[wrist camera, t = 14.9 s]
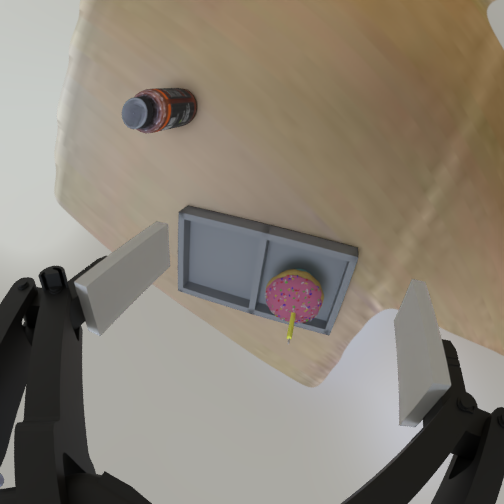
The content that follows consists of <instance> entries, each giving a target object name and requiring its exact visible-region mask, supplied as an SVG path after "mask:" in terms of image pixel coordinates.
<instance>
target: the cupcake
mask: <svg viewBox="0 0 504 504" xmlns="http://www.w3.org/2000/svg"><path fill="white" fill-rule="evenodd" d="M265 297H266V305H268V307H269V309H270V310H271V312H272V313H273V314H275V316H276V317H279V318H280V319H281V320H282V321H283V320H284V321H287V322H289V328H288V333H287V339H288V344H289V342H290V339H291V338H292V333H293V327H294V323H295V324H296V323H298V324H299V323H305V322H308V320H309V321H310V320H312V318H314V317H316V316H317V315H318V312H319V310H320V308H321V306H322V303H323V300H324V294H323V291H322V288H321V285H320V283H319V281H317V280H316V279H315V278H314V277H313V276H312V274H311V273H310V272H308V271H306V270H304V269H290V270H286V271H284V272H281V273H280V274H278V275H277V276H275V277H273V278H271V279H270V281H269V282H268V284H267V286H266V292H265Z"/></svg>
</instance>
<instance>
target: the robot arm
mask: <svg viewBox="0 0 504 504" xmlns="http://www.w3.org/2000/svg"><path fill="white" fill-rule="evenodd" d="M169 267H170V255H169V233H168V224H167V223H163V222H158V221H156V222H155V223H153V224H152V225H151V226H149V227H148V228H146V229H145V230H143V231H142V232H140V233H139V234H138V235H136V236H135V237H133V238H132V239H131V240H129V241H128V242H126V243H125V244H124V245H122V246H121V247H119V248H118V249H117V250H115V251H114V252H113V253H111V254H110V255H109V256H104V257H102V258H99V259H97V260H96V261H95V262H93V263H92V264H90V266H88V267H86V268H85V270H82V271H81V272H80V273H78V274H77V275H76V276H74V277H73V278H72V279H71V280H69V281H68V282H67V278H66V274H65V270H64V269H63V267H60V266H51V267H48V268H46V269H44V270H43V271H41V272H40V274H39V279H40V282H41V285H42V288H38V287H36V285H35V281H34V279H32V278H29V277H27V278H21V279H19V280H18V281H16V282H15V283H14V284H13V286H12V287H11V289H10V290H9V292H8V293H7V295H6V296H5V298H4V299H3V301H2V302H1V304H0V466H1V464H2V462H3V459H4V457H5V454H6V451H7V447H8V444H9V440H10V436H11V432H12V428H13V425H14V421H15V418H16V414H17V411H18V408H19V405H20V402H21V398H22V395H23V392H24V389H25V386H26V395H25V409H24V420H23V422H19V423H17V424H16V427H15V436H14V462H15V464H14V465H15V485H16V487H12V488H6V489H0V504H152V503H150V502H149V501H148V500H147V499H146V498H144V497H143V496H142V495H141V494H140V493H138V492H137V491H136V490H135V489H133V487H131V486H130V485H128V484H126V483H124V482H122V481H120V480H119V479H117V478H115V477H114V476H112V475H110V474H109V473H107V472H104V473H103V474H102V475H98V474H96V473H95V469H94V466H93V464H92V462H91V460H90V457H89V453H88V446H87V438H86V429H85V418H84V405H83V387H82V386H83V385H82V327H81V324H82V323H83V322H85V321H86V324H87V327H88V330H89V331H91V332H93V333H95V334H97V335H99V336H101V335H102V334H103V333H104V332H105V331H106V330H107V328H108V327H109V326H110V325H111V324H112V323H113V322H114V321H115V320H116V319H117V318H118V317H119V316H120V315H121V314H122V313H123V312H124V311H125V310H126V309H127V308H128V307H129V306H130V305H131V304H132V303H133V302H134V301H135V300H136V299H137V298H138V297H139V296H140V295H141V294H142V293H143V292H144V291H145V290H146V289H147V288H148V287H149V286H150V285H151V284H152V283H153V282H154V281H155V280H156V279H157V278H158V277H159V276H160V275H162V274H163V273H164V272H165V271H166V270H167V269H168V268H169ZM23 318H24V321H25V322H24V324H23V325H22V319H23ZM394 326H395V336H396V348H397V362H398V381H399V425H400V426H410V427H416V426H417V425H418V424H419V423H420V422H421V421H422V420H423V428H422V430H421V431H420V432H419V433H418V434H417V435H416V436H415V437H414V438H413V439H412V440H411V441H410V442H409V443H408V444H407V445H406V447H405V448H404V449H403V450H402V451H401V452H400V453H399V454H398V455H397V456H396V457H395V458H393V459H392V460H391V461H390V462H389V463H388V464H387V465H386V466H385V467H384V468H383V469H382V470H381V471H380V472H379V473H377V474H376V475H375V476H374V477H373V478H372V479H371V480H369V481H368V482H367V483H366V484H365V485H364V486H362V487H361V488H360V489H359V490H358V491H356V492H355V493H354V494H352V495H351V496H350V497H349V498H347V499H346V500H345V501H344V502H342V503H341V504H408V503H409V502H410V501H411V499H412V498H413V497H414V496H415V495H416V494H417V493H418V492H419V491H420V490H421V489H422V487H423V486H424V485H425V484H426V483H427V482H428V480H429V479H430V478H431V477H432V476H433V474H434V473H435V472H436V471H437V469H438V468H439V467H440V466H441V464H442V463H443V462H444V461H445V459H446V458H447V457H448V455H449V454H450V453H452V454H454V455H453V458H452V460H451V462H450V465H449V467H448V469H447V472H446V474H445V476H444V478H443V481H442V482H441V485H440V487H439V489H438V491H437V493H436V495H435V497H434V499H433V501H432V503H431V504H495V503H496V500H497V497H498V494H499V491H500V488H501V485H502V481H503V478H504V408H503V407H500V408H497V409H495V410H494V411H493V412H492V413H491V414H490V413H488V412H486V411H483V410H481V409H479V408H477V403H476V401H475V399H474V398H473V397H472V395H470V394H469V393H467V392H466V390H465V385H464V381H463V376H462V372H461V368H460V363H459V360H458V355H457V351H456V349H455V347H454V346H453V344H452V343H451V341H448V340H443V339H441V335H440V331H439V327H438V323H437V320H436V316H435V313H434V309H433V306H432V302H431V299H430V296H429V292H428V289H427V286H426V283H425V282H424V281H419V280H415V279H412V280H411V282H410V285H409V287H408V290H407V292H406V295H405V297H404V299H403V302H402V304H401V306H400V309H399V311H398V313H397V316H396V318H395V320H394ZM26 384H27V385H26ZM3 483H4V478H3V476H2V474H1V473H0V486H2V485H3Z"/></svg>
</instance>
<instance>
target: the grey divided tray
mask: <svg viewBox="0 0 504 504" xmlns="http://www.w3.org/2000/svg"><path fill="white" fill-rule="evenodd" d="M357 260H358V248H357V247H353V246H349V245H346V244H342V243H338V242H334V241H331V240H327V239H323V238H319V237H315V236H312V235H308V234H304V233H300V232H296V231H292V230H288V229H284V228H280V227H276V226H272V225H268V224H264V223H260V222H256V221H252V220H248V219H243V218H239V217H235V216H231V215H227V214H222V213H218V212H214V211H210V210H205V209H201V208H197V207H192V206H187V207H185V208H184V209H182V210H181V211H179V222H178V291H181V292H184V293H187V294H190V295H193V296H196V297H199V298H202V299H205V300H208V301H211V302H215V303H218V304H221V305H224V306H227V307H231V308H234V309H237V310H240V311H244V312H247V313H250V314H254V315H257V316H261V317H264V318H267V319H271V320H274V321H278V322H281V323H285V324H289V322H287V321H284V320H283V321H282V320H281V319H280V318H279V317H276V316H275V314H273V313H272V312H271V310H270V309H269V307H268V305H266V297H265V292H266V286H267V284H268V282H269V281H270V279H271V278H273V277H275V276H277V275H278V274H280V273H281V272H284V271H286V270H290V269H304V270H306V271H308V272H310V273H311V274H312V276H313V277H314V278H315V279H316V280H317V281H319V283H320V285H321V288H322V291H323V294H324V300H323V303H322V306H321V308H320V310H319V312H318V315H317V316H316V317H314V318H312V320H310V321H309V320H308V322H305V323H299V324H298V323H296V324H295V323H294V326H296V327H300V328H303V329H307V330H311V331H315V332H318V333H322V334H326V335H330V332H331V330H332V327H333V325H334V322H335V320H336V317H337V315H338V312H339V310H340V307H341V304H342V302H343V299H344V296H345V294H346V291H347V288H348V285H349V283H350V280H351V277H352V274H353V271H354V268H355V266H356V263H357Z"/></svg>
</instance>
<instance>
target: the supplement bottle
mask: <svg viewBox="0 0 504 504" xmlns="http://www.w3.org/2000/svg"><path fill="white" fill-rule="evenodd" d="M195 113H196V101H195V98H194V96H193V95H192V94H191V93H190V92H189V91H187V90H185V89H179V88H164V89H146V90H143V91H141V92H139V93H138V94H137V95H136V96H135V97H134V98H131V99H129V100H128V101H127V102H126V103H125V104H124V106H123V109H122V119H123V121H124V123H125V125H126V126H127V127H129V128H131V129H137V130H138V131H140V132H143V133H153V132H158V131H162V130H166V129H171V128H175V127H180V126H183V125H186V124H187V123H189V122H190V121H191V120H192V119H193V117H194V115H195Z"/></svg>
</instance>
